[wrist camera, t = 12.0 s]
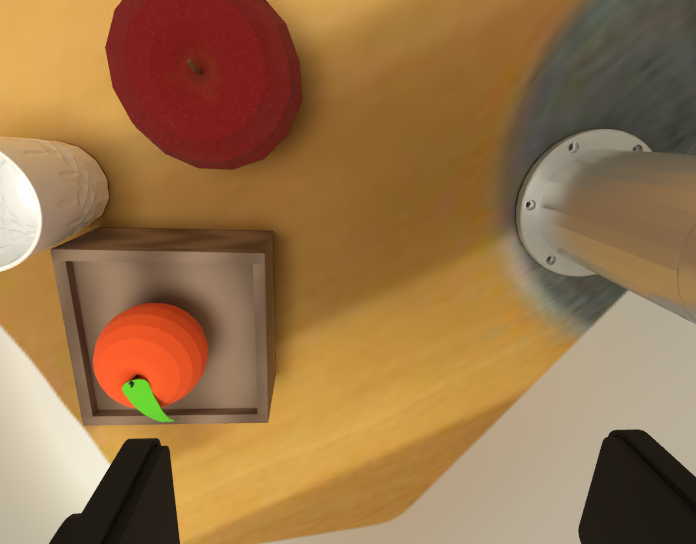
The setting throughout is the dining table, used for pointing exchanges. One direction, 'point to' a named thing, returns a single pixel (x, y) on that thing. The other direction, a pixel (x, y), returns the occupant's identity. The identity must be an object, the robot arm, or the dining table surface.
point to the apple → (205, 77)
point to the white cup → (45, 195)
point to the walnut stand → (186, 293)
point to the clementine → (150, 357)
